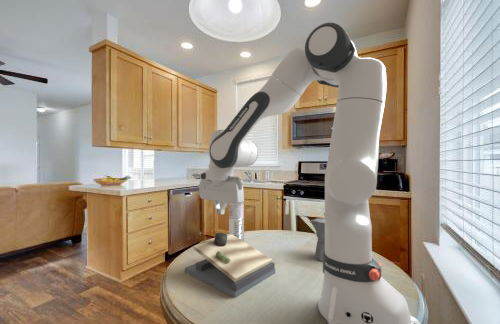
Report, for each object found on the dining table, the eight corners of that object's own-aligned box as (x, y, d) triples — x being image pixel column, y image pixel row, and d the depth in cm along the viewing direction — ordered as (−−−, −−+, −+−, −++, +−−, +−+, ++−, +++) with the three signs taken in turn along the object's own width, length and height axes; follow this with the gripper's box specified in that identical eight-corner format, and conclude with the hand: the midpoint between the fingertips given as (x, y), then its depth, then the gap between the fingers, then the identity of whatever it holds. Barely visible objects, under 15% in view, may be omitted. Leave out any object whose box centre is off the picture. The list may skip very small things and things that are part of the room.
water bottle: (241, 250, 102) (242, 192, 103) (226, 248, 104) (227, 192, 104) (245, 244, 109) (245, 191, 109) (231, 243, 110) (231, 190, 111)
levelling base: (275, 272, 81) (275, 262, 81) (235, 297, 65) (235, 285, 66) (226, 255, 96) (226, 246, 96) (184, 272, 81) (184, 261, 81)
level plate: (271, 262, 81) (273, 251, 80) (234, 282, 67) (237, 268, 66) (231, 237, 93) (233, 227, 93) (193, 249, 80) (195, 237, 79)
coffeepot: (311, 262, 90) (311, 215, 90) (307, 253, 99) (307, 210, 100) (353, 263, 89) (353, 216, 89) (344, 254, 98) (344, 211, 98)
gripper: (248, 176, 80) (247, 217, 80) (209, 174, 94) (208, 208, 93) (235, 177, 76) (234, 220, 75) (196, 174, 89) (195, 211, 89)
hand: (220, 213), depth 84 cm, fingers closed
